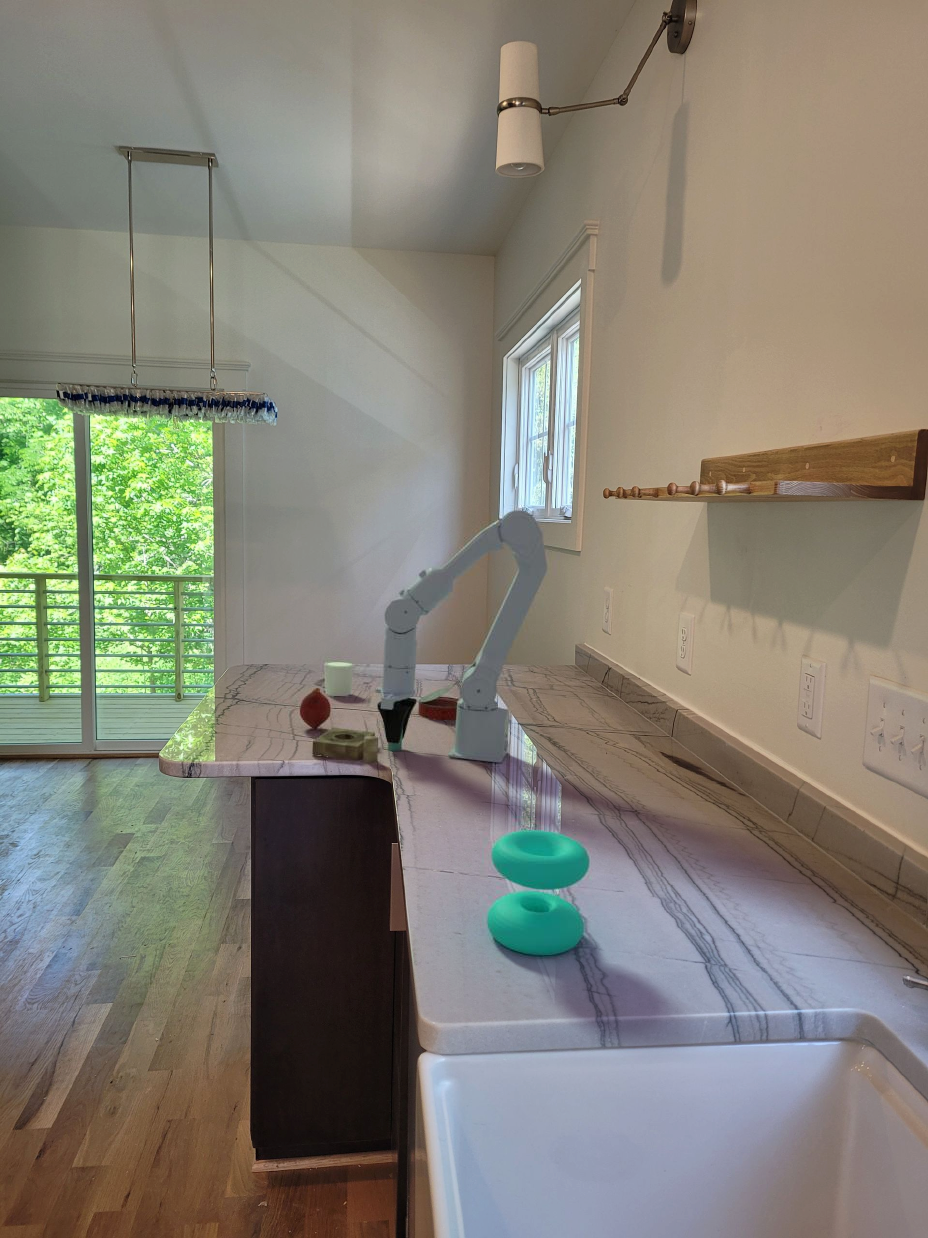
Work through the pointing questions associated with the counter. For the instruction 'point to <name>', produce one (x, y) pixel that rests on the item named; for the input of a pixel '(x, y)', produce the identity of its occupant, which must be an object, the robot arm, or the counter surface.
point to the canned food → (438, 705)
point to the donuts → (537, 892)
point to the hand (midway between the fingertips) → (395, 740)
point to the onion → (315, 708)
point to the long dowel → (395, 745)
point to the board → (341, 744)
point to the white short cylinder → (338, 678)
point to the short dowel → (370, 749)
